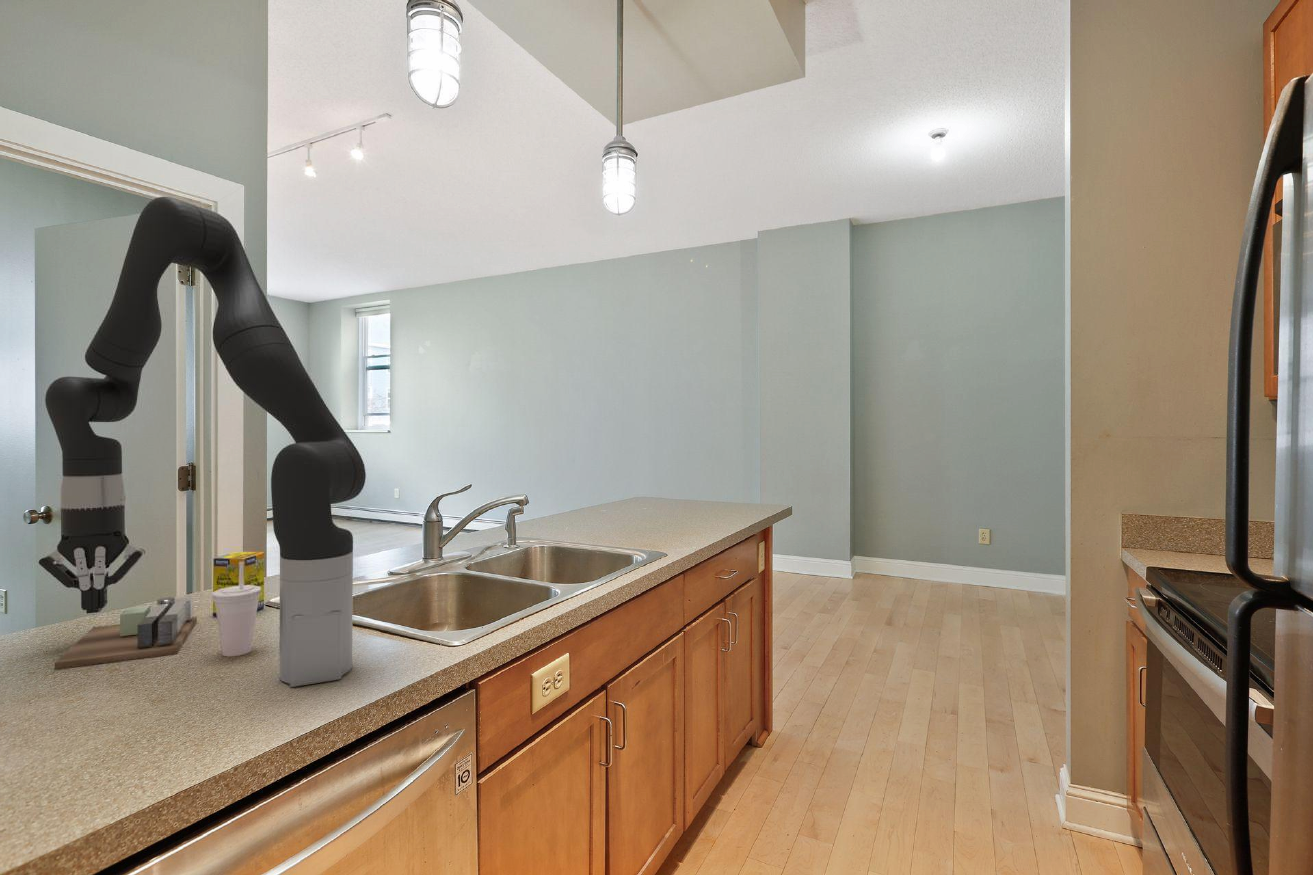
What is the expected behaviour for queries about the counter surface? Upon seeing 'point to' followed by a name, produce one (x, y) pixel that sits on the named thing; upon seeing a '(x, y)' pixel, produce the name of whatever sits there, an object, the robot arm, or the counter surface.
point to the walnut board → (116, 647)
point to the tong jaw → (151, 626)
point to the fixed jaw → (174, 618)
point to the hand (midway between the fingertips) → (94, 611)
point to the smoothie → (236, 615)
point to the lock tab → (132, 619)
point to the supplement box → (229, 572)
